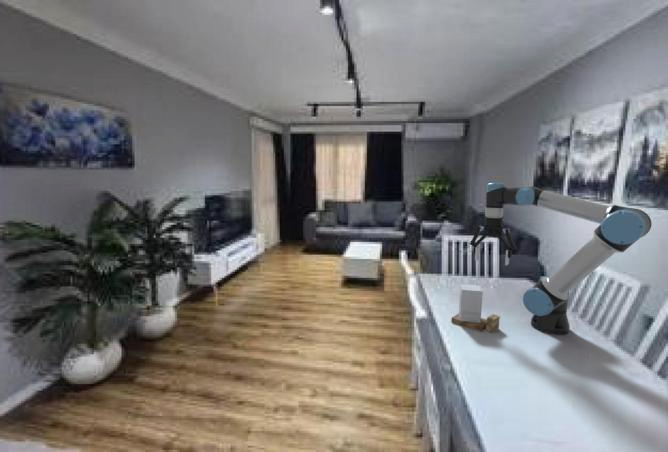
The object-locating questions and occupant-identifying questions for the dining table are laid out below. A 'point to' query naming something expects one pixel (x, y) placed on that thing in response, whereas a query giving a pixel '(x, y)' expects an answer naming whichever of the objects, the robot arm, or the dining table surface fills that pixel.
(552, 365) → the dining table surface
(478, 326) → the brown wooden slab
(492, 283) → the dining table surface
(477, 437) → the dining table surface
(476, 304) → the supplement box
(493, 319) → the bench dog
